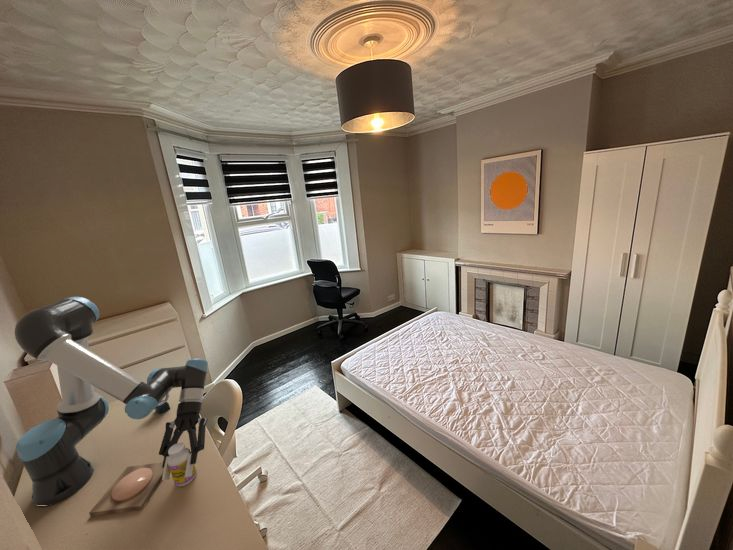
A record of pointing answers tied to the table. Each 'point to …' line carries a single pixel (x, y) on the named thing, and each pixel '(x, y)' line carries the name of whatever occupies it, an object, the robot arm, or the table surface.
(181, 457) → the supplement bottle
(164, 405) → the watch
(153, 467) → the square brown tray
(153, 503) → the table surface
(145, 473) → the pink dome
